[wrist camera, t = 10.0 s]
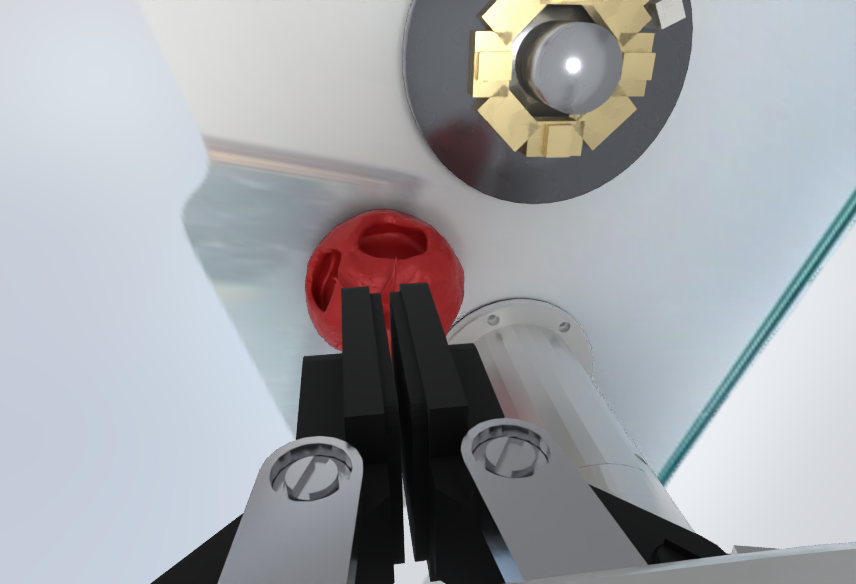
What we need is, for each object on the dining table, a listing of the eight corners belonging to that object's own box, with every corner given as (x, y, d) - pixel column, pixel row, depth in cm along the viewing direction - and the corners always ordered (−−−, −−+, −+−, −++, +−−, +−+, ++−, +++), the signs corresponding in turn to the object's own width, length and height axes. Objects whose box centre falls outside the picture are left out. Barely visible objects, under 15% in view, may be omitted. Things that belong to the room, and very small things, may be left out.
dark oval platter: (690, 140, 39) (752, 164, 34) (453, 231, 40) (473, 270, 34) (652, -159, 32) (723, -195, 26) (357, -41, 32) (362, -50, 26)
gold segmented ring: (541, 183, 37) (574, 212, 32) (431, 62, 33) (449, 73, 28) (742, -6, 34) (815, -8, 28) (647, -168, 29) (712, -202, 24)
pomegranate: (474, 289, 42) (508, 359, 34) (352, 351, 43) (356, 434, 35) (413, 168, 38) (434, 216, 29) (277, 240, 39) (261, 305, 30)
